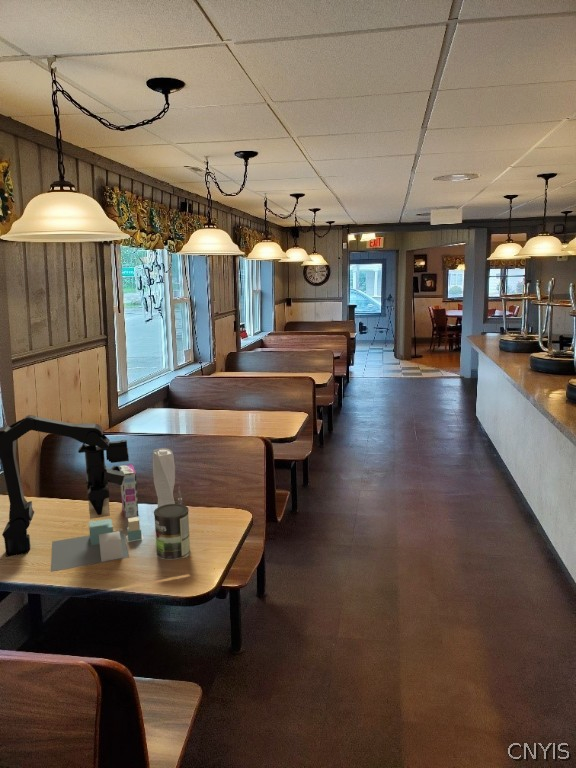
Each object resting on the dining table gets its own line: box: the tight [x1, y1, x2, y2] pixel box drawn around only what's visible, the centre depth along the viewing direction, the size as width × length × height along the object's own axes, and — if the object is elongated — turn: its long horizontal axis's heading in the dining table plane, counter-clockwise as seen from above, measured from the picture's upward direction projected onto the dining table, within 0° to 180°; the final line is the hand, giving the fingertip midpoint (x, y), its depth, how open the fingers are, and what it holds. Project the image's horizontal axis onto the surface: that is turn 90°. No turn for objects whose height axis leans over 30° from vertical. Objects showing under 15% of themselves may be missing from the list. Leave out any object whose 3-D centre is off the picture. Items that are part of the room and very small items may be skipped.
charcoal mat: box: [50, 529, 130, 572], centre depth 182 cm, size 22×21×1 cm
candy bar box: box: [119, 464, 139, 519], centre depth 210 cm, size 11×5×16 cm, turn 21°
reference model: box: [125, 516, 144, 543], centre depth 189 cm, size 5×5×7 cm
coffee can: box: [153, 503, 191, 561], centre depth 178 cm, size 10×10×14 cm
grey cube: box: [99, 530, 122, 562], centre depth 177 cm, size 6×6×6 cm
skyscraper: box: [152, 447, 183, 508], centre depth 198 cm, size 8×8×28 cm
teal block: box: [88, 518, 114, 545], centre depth 188 cm, size 7×7×5 cm
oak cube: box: [87, 497, 111, 520], centre depth 187 cm, size 6×6×6 cm
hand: (99, 511), depth 187 cm, fingers closed on oak cube, 6 cm apart
